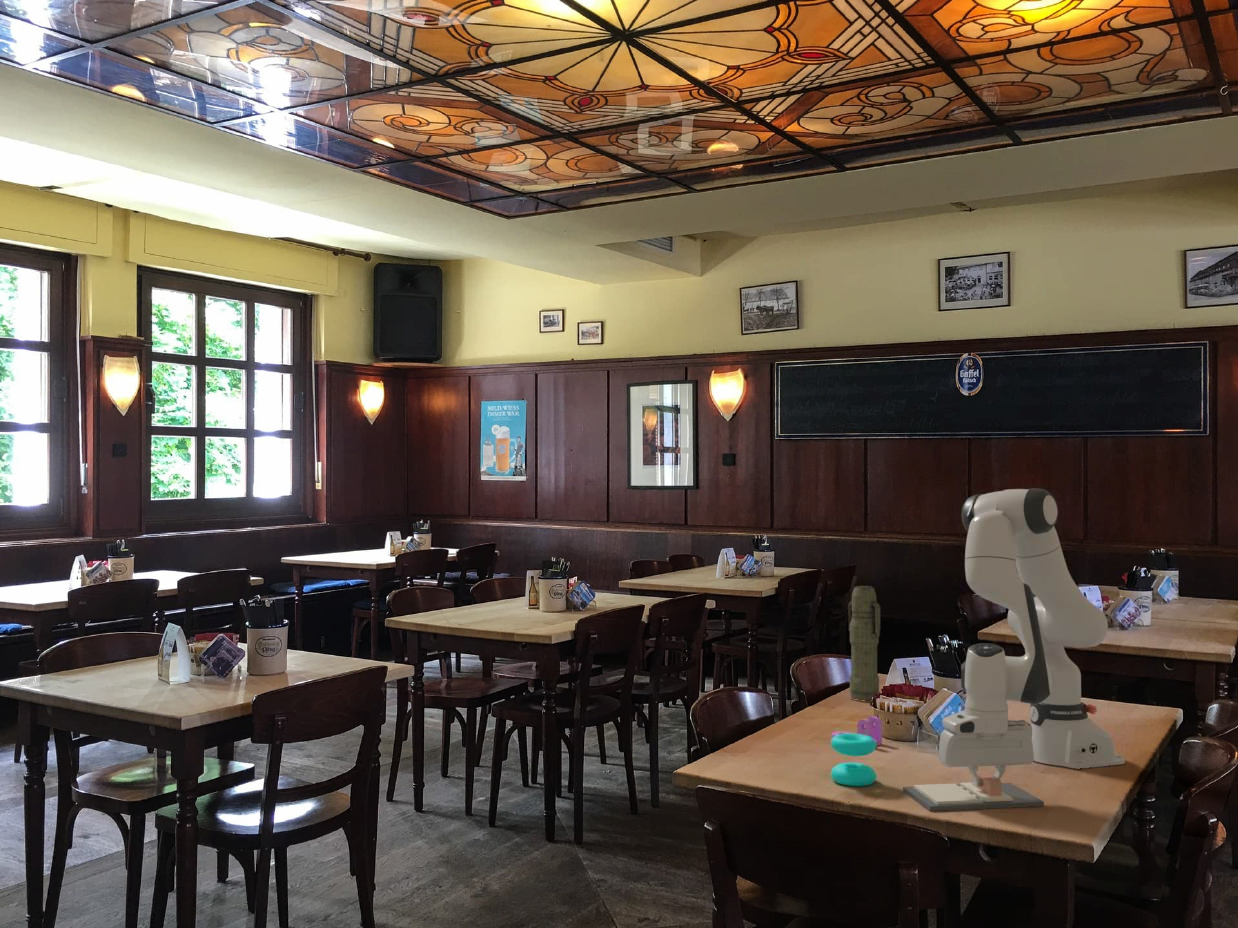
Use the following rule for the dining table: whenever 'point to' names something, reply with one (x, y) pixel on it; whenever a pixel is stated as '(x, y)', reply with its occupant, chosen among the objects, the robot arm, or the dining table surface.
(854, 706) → the dining table surface
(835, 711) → the dining table surface
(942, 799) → the pad
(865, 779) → the donuts
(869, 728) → the bracket
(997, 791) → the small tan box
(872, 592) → the thermos
